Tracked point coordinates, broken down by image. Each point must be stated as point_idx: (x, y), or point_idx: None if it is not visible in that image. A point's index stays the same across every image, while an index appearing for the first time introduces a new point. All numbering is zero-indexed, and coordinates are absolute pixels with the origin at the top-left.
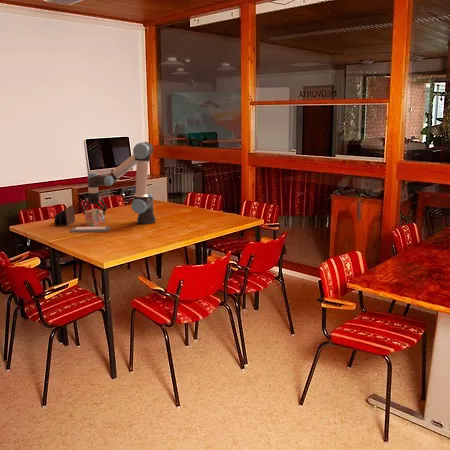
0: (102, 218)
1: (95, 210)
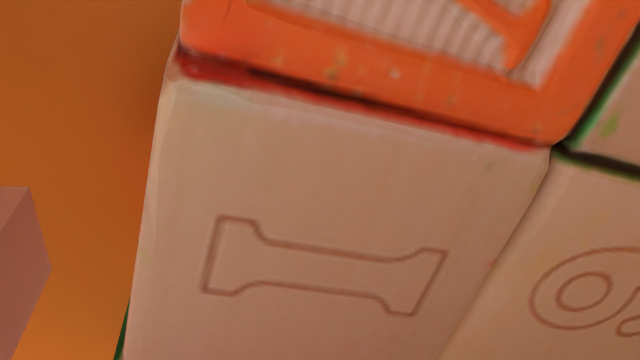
0: (16, 200)
1: (142, 332)
